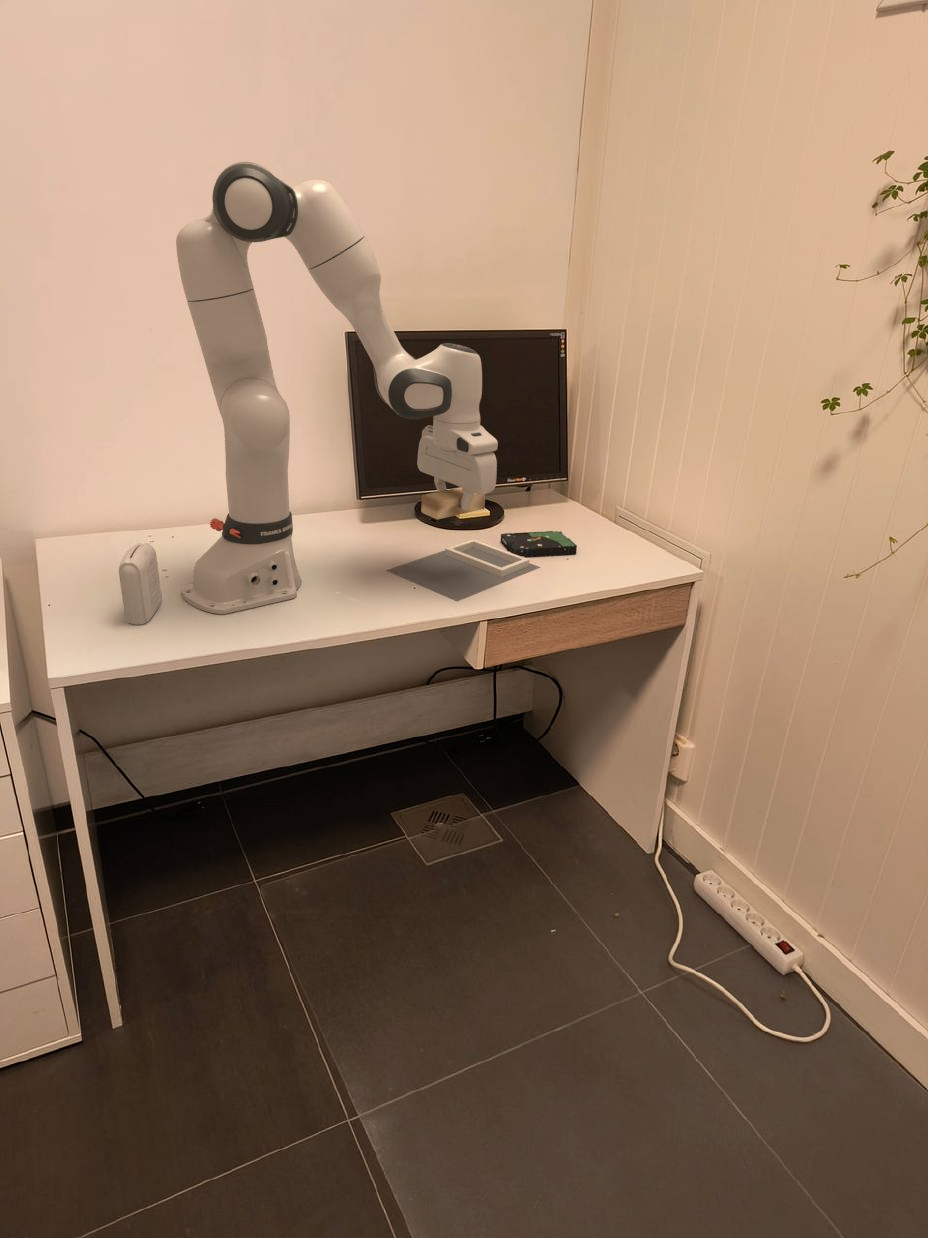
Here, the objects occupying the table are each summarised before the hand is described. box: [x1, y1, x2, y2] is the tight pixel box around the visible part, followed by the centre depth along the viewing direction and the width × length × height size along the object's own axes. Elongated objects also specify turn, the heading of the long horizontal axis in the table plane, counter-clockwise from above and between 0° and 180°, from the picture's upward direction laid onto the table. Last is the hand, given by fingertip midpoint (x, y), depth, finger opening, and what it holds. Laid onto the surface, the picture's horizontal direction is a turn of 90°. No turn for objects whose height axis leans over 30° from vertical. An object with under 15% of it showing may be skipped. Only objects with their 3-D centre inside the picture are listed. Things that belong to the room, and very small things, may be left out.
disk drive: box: [500, 530, 578, 559], centre depth 181 cm, size 10×3×15 cm
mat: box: [385, 538, 541, 602], centre depth 167 cm, size 26×20×2 cm
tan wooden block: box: [420, 487, 486, 520], centre depth 158 cm, size 12×5×4 cm, turn 130°
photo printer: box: [118, 542, 163, 626], centre depth 140 cm, size 10×4×12 cm, turn 3°
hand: (453, 504), depth 158 cm, fingers closed on tan wooden block, 5 cm apart
